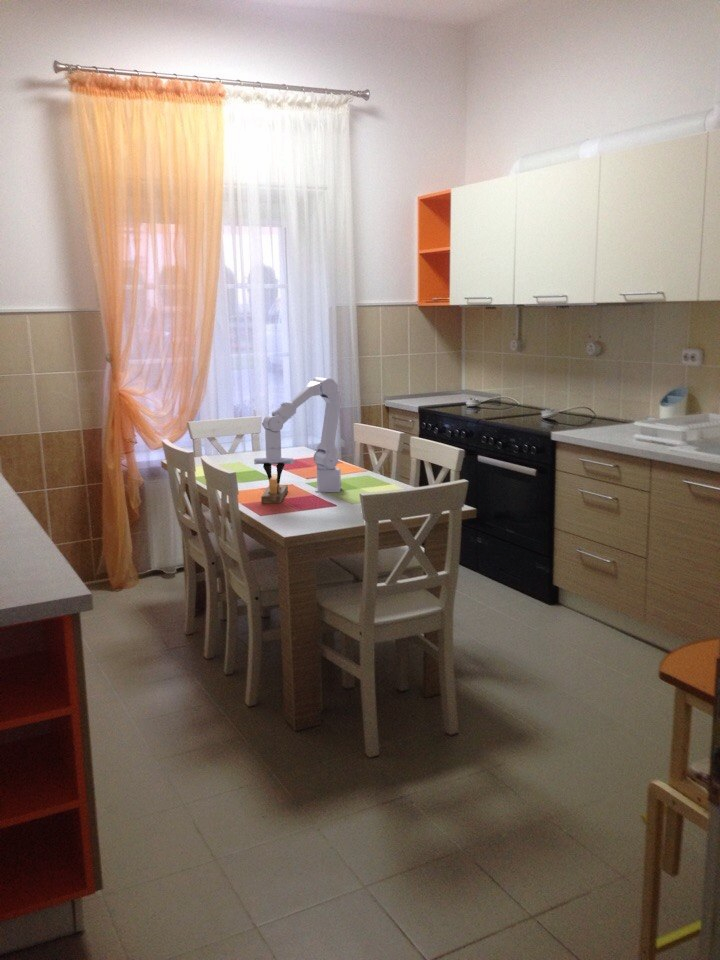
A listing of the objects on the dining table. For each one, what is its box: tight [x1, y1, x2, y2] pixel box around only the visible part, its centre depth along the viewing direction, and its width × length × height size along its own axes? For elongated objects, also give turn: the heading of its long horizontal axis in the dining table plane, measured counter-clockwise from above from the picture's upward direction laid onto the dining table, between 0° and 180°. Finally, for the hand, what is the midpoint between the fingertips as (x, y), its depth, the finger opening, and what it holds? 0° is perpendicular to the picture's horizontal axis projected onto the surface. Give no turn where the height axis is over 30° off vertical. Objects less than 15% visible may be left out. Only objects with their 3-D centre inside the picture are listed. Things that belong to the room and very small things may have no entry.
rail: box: [260, 484, 289, 504], centre depth 314 cm, size 7×20×2 cm, turn 177°
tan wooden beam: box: [268, 473, 281, 494], centre depth 313 cm, size 2×10×6 cm, turn 177°
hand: (274, 482), depth 313 cm, fingers closed on tan wooden beam, 2 cm apart
